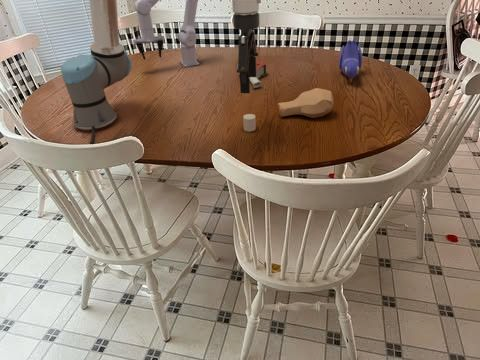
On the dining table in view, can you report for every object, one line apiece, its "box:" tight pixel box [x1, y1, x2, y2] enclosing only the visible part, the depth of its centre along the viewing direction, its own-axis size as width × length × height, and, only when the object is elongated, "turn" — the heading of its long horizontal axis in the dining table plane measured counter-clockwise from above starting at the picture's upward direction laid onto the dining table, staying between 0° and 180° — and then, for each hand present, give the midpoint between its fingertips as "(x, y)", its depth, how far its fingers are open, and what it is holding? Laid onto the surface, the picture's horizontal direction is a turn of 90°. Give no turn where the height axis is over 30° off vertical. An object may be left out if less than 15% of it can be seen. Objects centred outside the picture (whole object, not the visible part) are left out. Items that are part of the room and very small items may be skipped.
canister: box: [242, 113, 257, 133], centre depth 122 cm, size 4×4×5 cm
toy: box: [338, 39, 363, 84], centre depth 153 cm, size 10×17×25 cm
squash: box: [277, 87, 335, 119], centre depth 127 cm, size 11×20×9 cm, turn 92°
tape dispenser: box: [236, 60, 267, 89], centre depth 159 cm, size 18×5×20 cm
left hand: (248, 84), depth 114 cm, fingers open, 13 cm apart
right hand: (152, 58), depth 173 cm, fingers open, 7 cm apart
